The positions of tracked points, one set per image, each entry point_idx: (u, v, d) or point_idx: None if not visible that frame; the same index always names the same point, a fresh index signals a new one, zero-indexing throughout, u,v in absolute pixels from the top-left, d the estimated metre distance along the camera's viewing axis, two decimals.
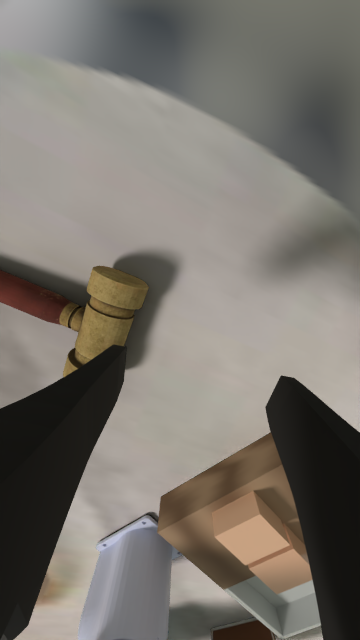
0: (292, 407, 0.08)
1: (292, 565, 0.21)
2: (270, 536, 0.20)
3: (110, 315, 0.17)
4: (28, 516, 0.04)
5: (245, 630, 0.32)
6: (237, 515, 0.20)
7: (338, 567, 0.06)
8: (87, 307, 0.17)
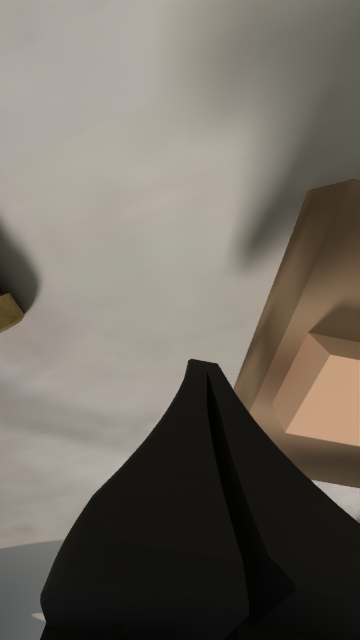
0: None
1: None
2: None
3: None
4: None
5: None
6: (301, 383, 0.11)
7: None
8: None
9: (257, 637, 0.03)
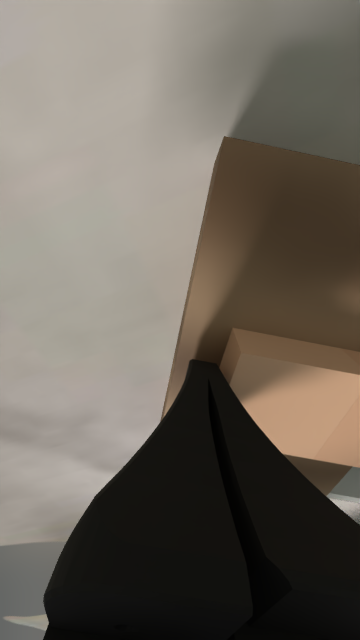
0: None
1: None
2: (308, 384, 0.08)
3: None
4: None
5: None
6: None
7: None
8: None
9: (254, 637, 0.03)
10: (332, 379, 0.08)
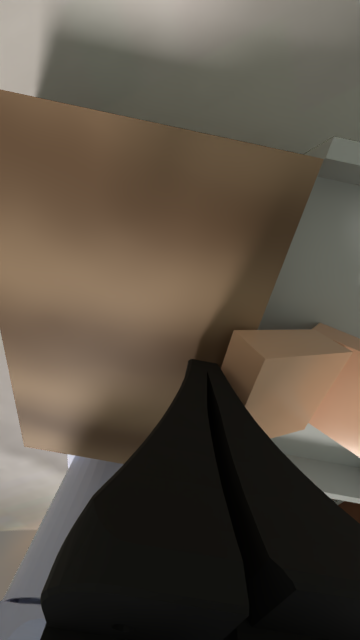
0: None
1: None
2: (312, 370, 0.09)
3: None
4: None
5: None
6: (235, 392, 0.09)
7: None
8: None
9: (257, 637, 0.03)
10: (328, 361, 0.09)
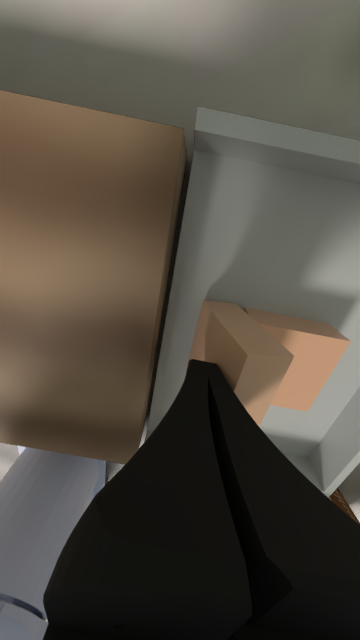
0: None
1: None
2: None
3: None
4: None
5: None
6: (259, 399, 0.09)
7: None
8: None
9: (255, 637, 0.03)
10: None
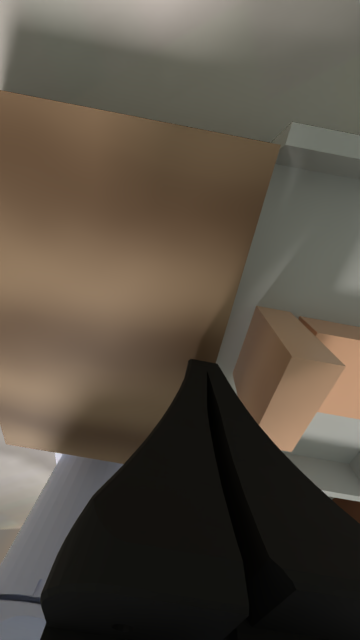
0: None
1: None
2: None
3: None
4: None
5: None
6: (302, 406, 0.09)
7: None
8: None
9: (257, 637, 0.03)
10: None
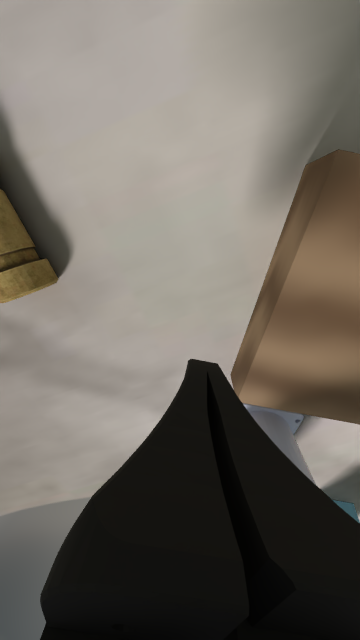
0: None
1: None
2: None
3: None
4: None
5: None
6: None
7: None
8: None
9: (257, 637, 0.03)
10: None
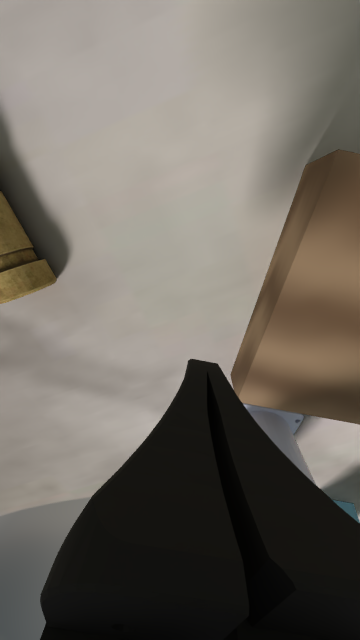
0: None
1: None
2: None
3: None
4: None
5: None
6: None
7: None
8: None
9: (257, 637, 0.03)
10: None
